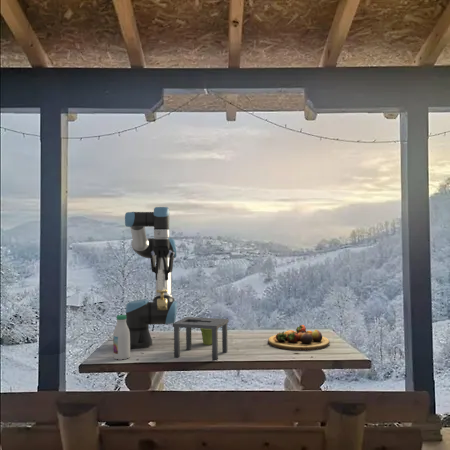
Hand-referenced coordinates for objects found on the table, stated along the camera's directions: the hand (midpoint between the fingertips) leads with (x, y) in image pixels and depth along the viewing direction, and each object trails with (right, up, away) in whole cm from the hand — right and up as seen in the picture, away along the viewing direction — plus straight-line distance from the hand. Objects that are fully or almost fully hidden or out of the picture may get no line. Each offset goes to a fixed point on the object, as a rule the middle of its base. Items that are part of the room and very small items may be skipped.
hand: (162, 286), depth 240 cm
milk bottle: (-18, -33, -8) cm, 38 cm away
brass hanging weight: (0, -11, 0) cm, 11 cm away
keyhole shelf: (+19, -32, -3) cm, 38 cm away
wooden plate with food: (+69, -33, +19) cm, 79 cm away
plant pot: (+22, -33, +19) cm, 44 cm away
